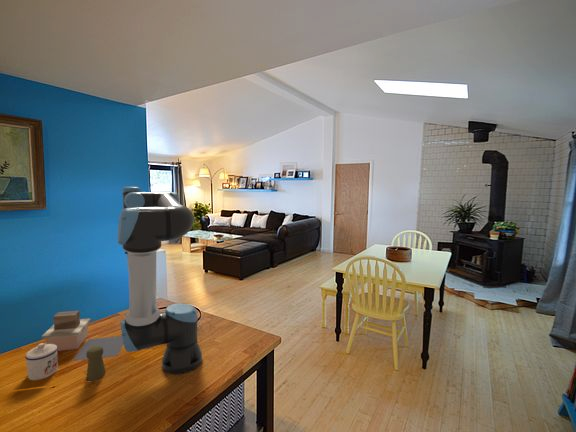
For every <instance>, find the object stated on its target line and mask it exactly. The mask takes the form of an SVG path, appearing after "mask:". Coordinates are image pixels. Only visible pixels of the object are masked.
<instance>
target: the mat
mask: <svg viewBox="0 0 576 432" xmlns="http://www.w3.org/2000/svg"><path fill="white" fill-rule="evenodd" d="M94 346H101V347H102V348H103V354H102V358H110V357H117V356H119V355H120V354H119V353H121V350H122V348H123V347H124V343H123V338H122V335H120V336H119V335H117V336H109V337H108V336H107V337H98V338H95V337H94V338H88V339H87V341H86V342H85V344H84V345H83V346H82V348H81V349H80V350H79V351H78V353H77V354H76V355H75V357H74V358H73V359H72V361H73V362H74V361H75V362H76V361H83V360H88V358H87V356H86V353H87V351H88V350H89V349H90V348H92V347H94Z"/></svg>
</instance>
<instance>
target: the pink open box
mask: <svg viewBox="0 0 576 432" xmlns="http://www.w3.org/2000/svg"><path fill="white" fill-rule="evenodd" d="M88 325H89V324H88ZM88 325H87V326H86V327H85V328H84V330H83V331H82V332H81V333H80V334H79V336H68V337H58V338H48V339H45V344H54V345H56V346H57V347H58V349H57V352H61V351H62V352H63V351H73V350H78V349H79V348H80V347H81V345H82V344H83V343H84V342H85V340H86V339H87V337H88V336H89V330H88V328H89V327H88Z"/></svg>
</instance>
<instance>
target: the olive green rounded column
mask: <svg viewBox="0 0 576 432" xmlns="http://www.w3.org/2000/svg"><path fill="white" fill-rule="evenodd" d="M102 354H103V348H102V347H101V346H94V347H92V348H90V349H89V350H88V351H87V353H86V356H87V358H88V359H87V360H88V361H87V368H86V369H87V370H86V379H87V380H86V381H88V382H97V381H99V380H101V379H102V377H104V376H105V374H106V373H107V372H106V367H105V363H104V359H103V358H104V357H103V358H102Z"/></svg>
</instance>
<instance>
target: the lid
mask: <svg viewBox="0 0 576 432" xmlns="http://www.w3.org/2000/svg"><path fill="white" fill-rule="evenodd" d="M80 315H81V314H80V310H71V311H70V310H69V311H60V312H56V314H54V316H53V325H52V326H50V327H49V329H48V330H46V331H45V332H44V333H42V335H41V340H46V339H48V338H58V337H68V336H79V334H80V333H81V332H82V331H83V330H84V328H85V327H86V326H87V325H89V323H90V322H91V320H92V319H91V318H81V316H80Z"/></svg>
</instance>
